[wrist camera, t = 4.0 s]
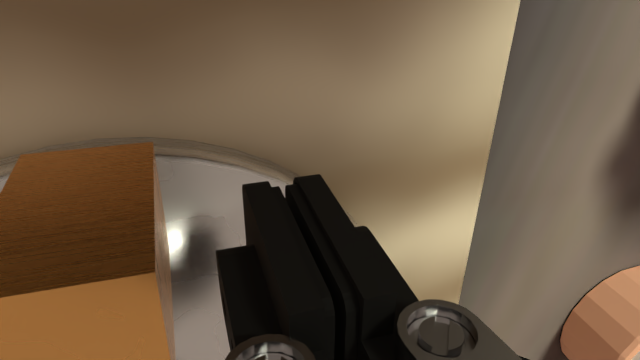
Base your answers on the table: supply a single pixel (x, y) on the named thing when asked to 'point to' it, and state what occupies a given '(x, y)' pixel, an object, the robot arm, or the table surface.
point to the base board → (284, 98)
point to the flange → (121, 247)
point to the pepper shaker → (606, 321)
